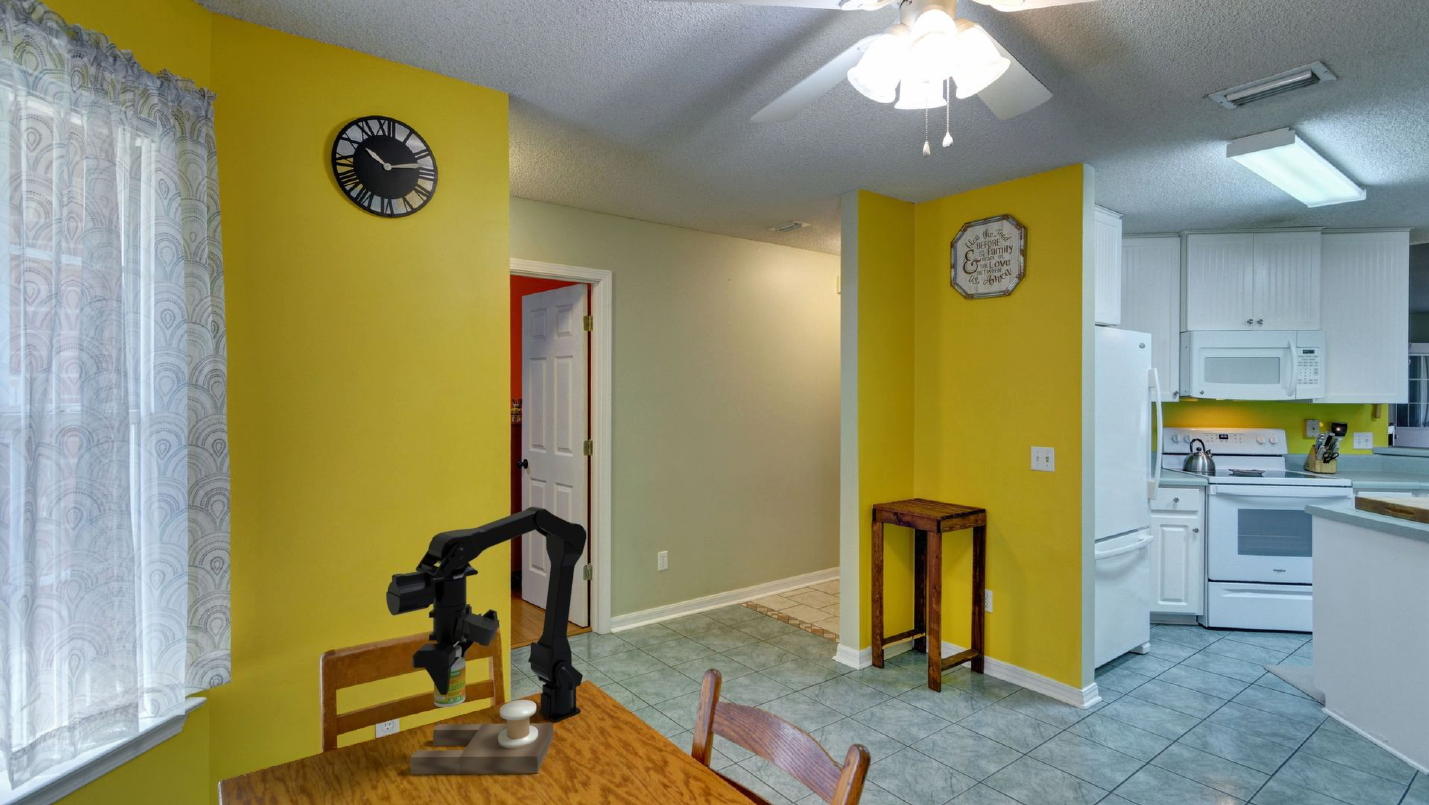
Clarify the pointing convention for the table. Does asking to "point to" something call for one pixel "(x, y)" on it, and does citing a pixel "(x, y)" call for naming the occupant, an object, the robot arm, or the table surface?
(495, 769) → the notched board
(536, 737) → the bobbin
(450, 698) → the supplement bottle
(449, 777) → the table surface
